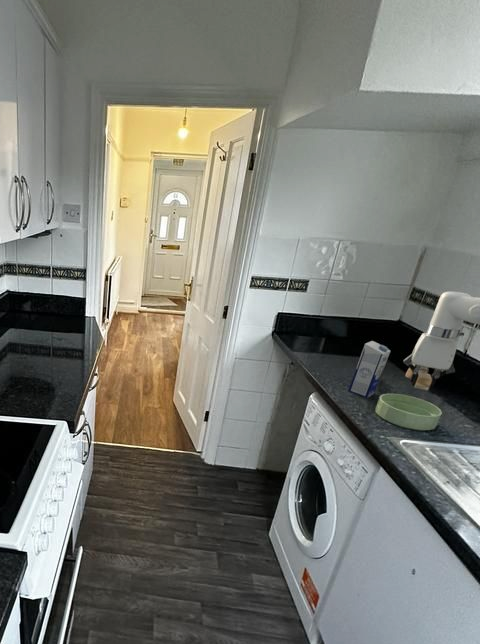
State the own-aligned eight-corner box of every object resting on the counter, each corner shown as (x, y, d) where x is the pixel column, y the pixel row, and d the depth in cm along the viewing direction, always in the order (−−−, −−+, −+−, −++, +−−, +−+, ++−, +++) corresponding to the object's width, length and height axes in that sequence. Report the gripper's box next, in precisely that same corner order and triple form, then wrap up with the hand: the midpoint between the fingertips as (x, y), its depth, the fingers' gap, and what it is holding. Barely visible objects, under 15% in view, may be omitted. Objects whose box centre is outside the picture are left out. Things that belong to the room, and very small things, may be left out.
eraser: (425, 384, 138) (429, 374, 136) (427, 390, 133) (432, 379, 131) (412, 382, 139) (417, 371, 138) (414, 387, 134) (419, 377, 133)
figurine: (428, 382, 173) (440, 355, 168) (417, 383, 171) (429, 356, 166) (412, 375, 179) (423, 349, 174) (400, 376, 177) (411, 350, 172)
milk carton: (355, 388, 162) (372, 340, 154) (373, 394, 158) (392, 345, 149) (347, 392, 158) (365, 343, 150) (366, 399, 154) (385, 349, 145)
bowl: (431, 416, 143) (437, 402, 141) (439, 437, 129) (446, 421, 127) (374, 403, 151) (379, 389, 149) (375, 421, 137) (380, 406, 135)
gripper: (473, 335, 128) (449, 388, 135) (409, 325, 135) (390, 376, 143) (478, 340, 122) (453, 396, 129) (411, 329, 129) (391, 383, 137)
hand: (420, 385), depth 136 cm, fingers closed on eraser, 3 cm apart
